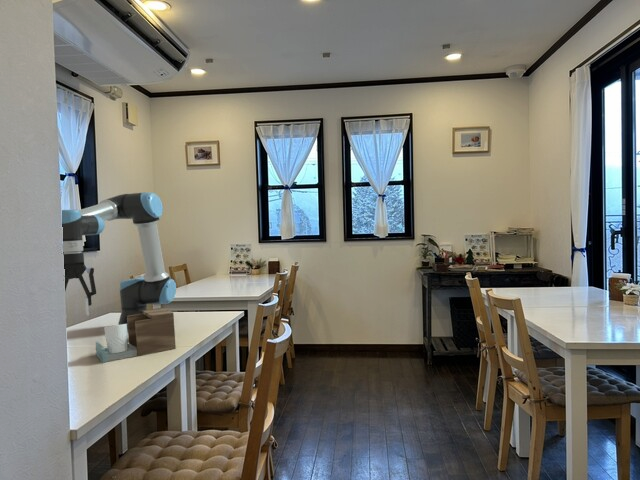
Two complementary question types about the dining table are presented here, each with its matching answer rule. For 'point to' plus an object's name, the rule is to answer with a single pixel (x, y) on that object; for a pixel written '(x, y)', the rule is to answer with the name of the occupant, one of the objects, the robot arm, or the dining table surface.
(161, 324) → the wooden drawer box
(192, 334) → the dining table surface
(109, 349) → the white cup
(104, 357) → the teal drawer
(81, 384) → the dining table surface
